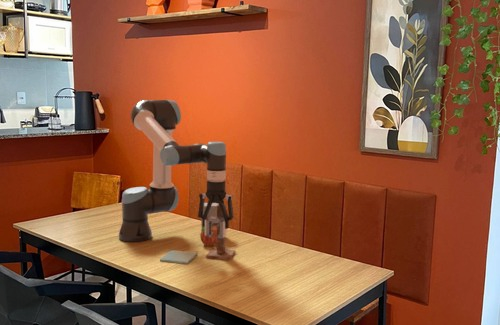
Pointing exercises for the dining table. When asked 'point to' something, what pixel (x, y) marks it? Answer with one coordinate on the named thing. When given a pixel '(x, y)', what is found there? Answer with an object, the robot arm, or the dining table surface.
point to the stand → (220, 242)
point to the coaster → (178, 257)
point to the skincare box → (210, 212)
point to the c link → (208, 226)
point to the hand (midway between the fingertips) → (215, 235)
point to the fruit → (208, 240)
